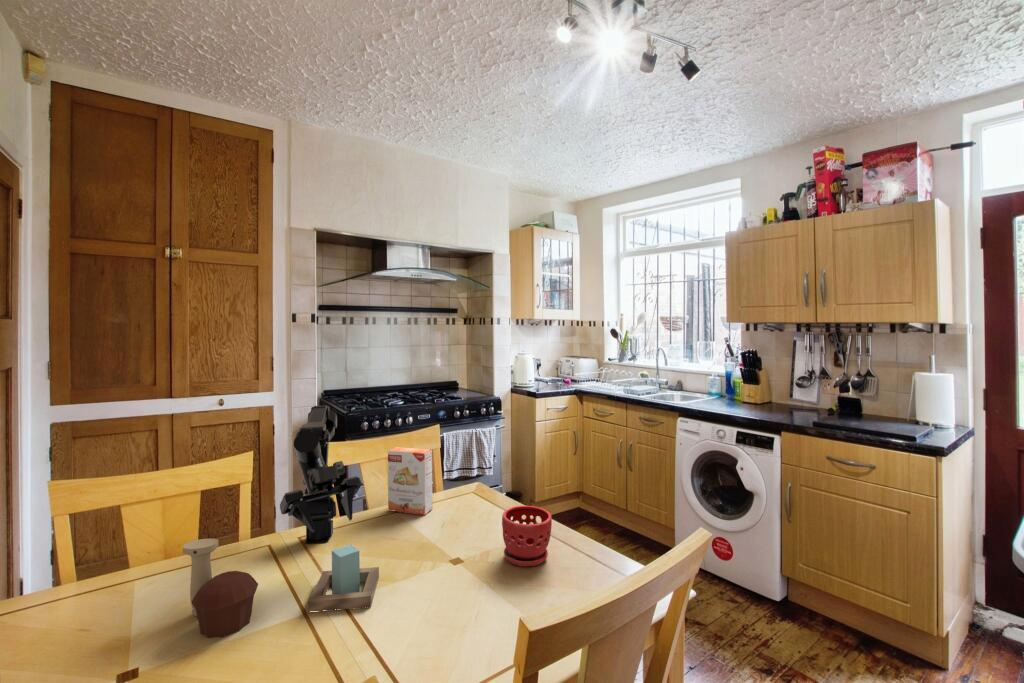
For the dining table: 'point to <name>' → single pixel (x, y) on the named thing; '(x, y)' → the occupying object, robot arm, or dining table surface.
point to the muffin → (225, 603)
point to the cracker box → (410, 480)
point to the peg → (345, 570)
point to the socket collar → (346, 600)
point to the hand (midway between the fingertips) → (332, 525)
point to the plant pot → (526, 535)
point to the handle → (199, 563)
